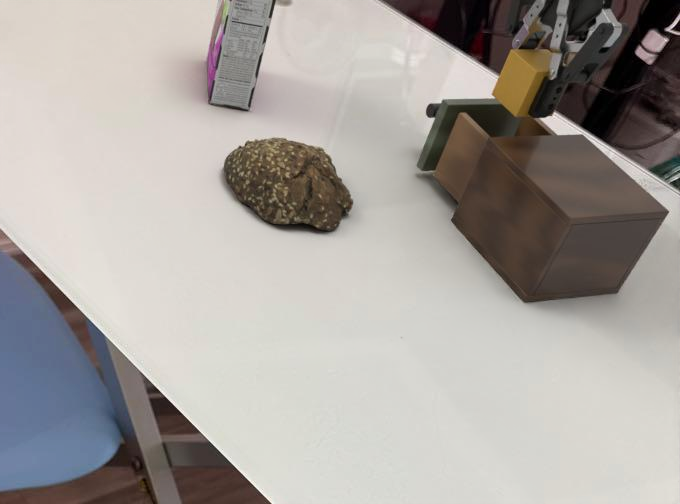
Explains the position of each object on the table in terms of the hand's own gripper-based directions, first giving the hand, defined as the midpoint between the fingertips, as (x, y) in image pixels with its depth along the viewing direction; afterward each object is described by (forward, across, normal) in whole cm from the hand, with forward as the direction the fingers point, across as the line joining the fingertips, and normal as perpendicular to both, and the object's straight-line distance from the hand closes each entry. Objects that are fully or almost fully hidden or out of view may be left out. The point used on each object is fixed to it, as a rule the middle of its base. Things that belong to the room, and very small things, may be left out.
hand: (523, 102), depth 95 cm
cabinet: (+10, +10, 0) cm, 14 cm away
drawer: (+9, -1, 0) cm, 10 cm away
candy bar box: (+10, -24, -19) cm, 33 cm away
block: (0, 0, 0) cm, 0 cm away
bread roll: (+10, -2, -22) cm, 24 cm away
